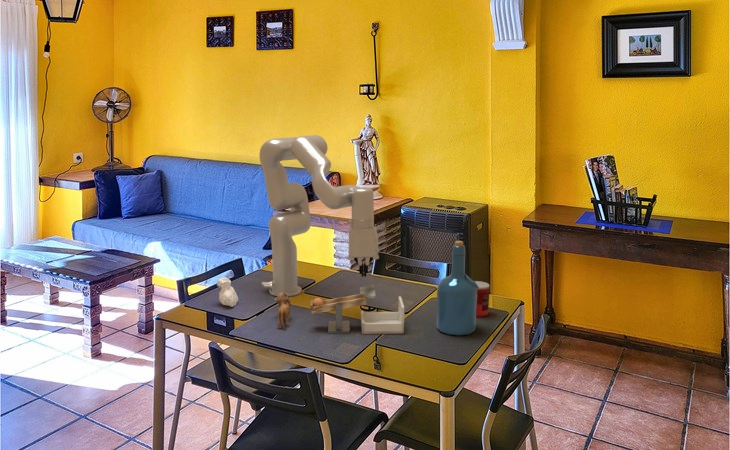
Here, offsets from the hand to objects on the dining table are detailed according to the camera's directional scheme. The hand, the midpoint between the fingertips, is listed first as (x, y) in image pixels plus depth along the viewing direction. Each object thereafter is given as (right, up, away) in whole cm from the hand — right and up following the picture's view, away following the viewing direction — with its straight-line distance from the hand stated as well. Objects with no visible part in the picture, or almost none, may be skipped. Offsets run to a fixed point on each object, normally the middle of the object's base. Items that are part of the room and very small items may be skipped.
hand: (363, 275), depth 207 cm
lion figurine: (-28, -16, -3) cm, 32 cm away
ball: (-15, -8, -10) cm, 20 cm away
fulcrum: (-8, -17, -8) cm, 20 cm away
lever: (-7, -8, -4) cm, 11 cm away
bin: (+6, -17, -8) cm, 19 cm away
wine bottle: (+31, -17, -8) cm, 36 cm away
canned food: (+40, -14, +6) cm, 43 cm away
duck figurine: (-50, -12, +14) cm, 54 cm away
